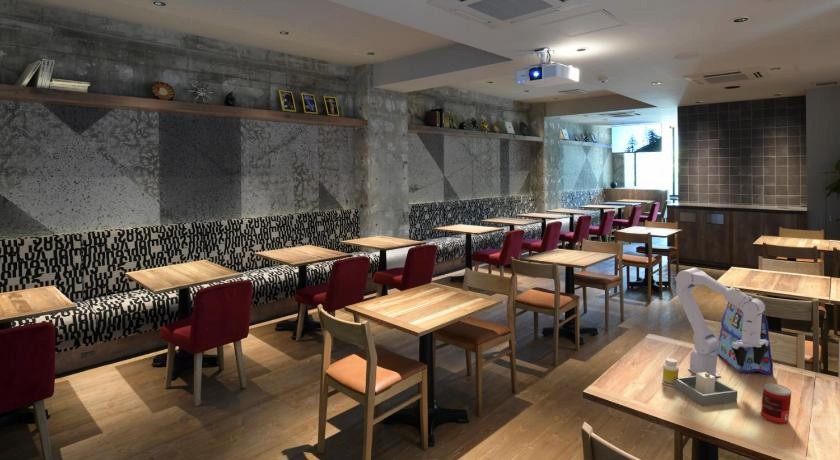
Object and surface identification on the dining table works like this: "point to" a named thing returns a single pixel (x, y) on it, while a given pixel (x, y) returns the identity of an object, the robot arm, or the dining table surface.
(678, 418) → the dining table surface
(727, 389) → the tray
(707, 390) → the juice carton
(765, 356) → the lunch bag
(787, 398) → the canned food
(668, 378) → the supplement bottle
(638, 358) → the dining table surface
